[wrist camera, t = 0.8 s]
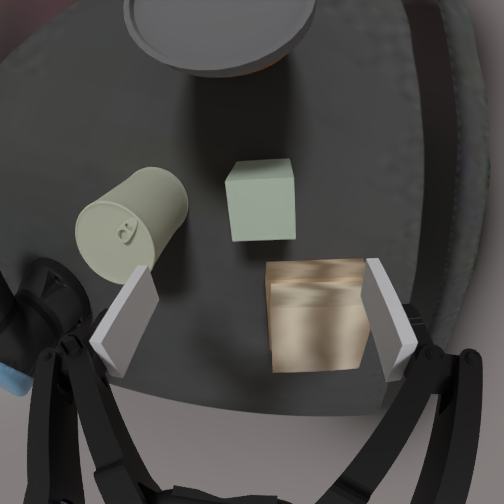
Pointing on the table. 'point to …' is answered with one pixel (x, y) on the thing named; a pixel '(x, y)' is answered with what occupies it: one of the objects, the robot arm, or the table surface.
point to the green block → (261, 200)
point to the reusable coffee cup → (218, 33)
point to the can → (131, 223)
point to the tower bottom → (311, 274)
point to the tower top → (317, 326)
